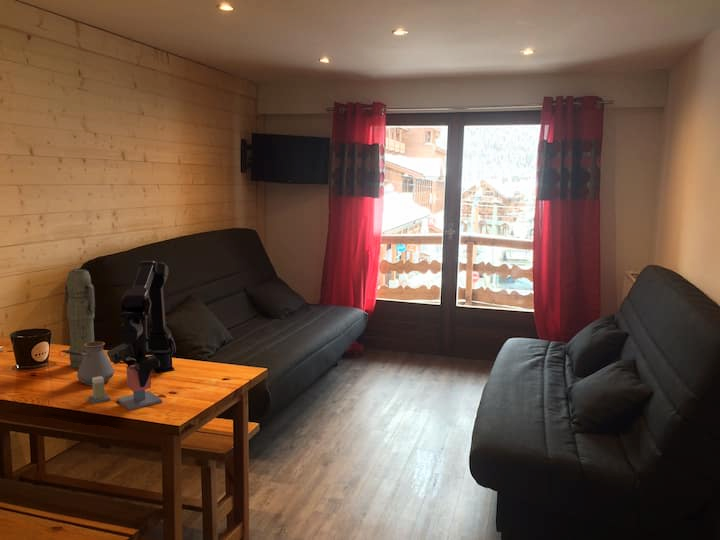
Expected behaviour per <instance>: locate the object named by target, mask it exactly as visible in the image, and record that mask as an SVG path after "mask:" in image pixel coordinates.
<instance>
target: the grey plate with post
mask: <svg viewBox="0 0 720 540" xmlns="http://www.w3.org/2000/svg"><path fill="white" fill-rule="evenodd" d="M116 401H117V402H118V403H119V404H120V405H122V406H123V407H124V408H126V409H127V410H128V411H133V410H137V409H140V408H145V407H149V406H153V405H158V404H161V403H163V399H161V398H160V397H158V396H157V395H156V394H154V393H153V392H151V391H150V390H146V389H144V390H140V391H135V392H133V391H132V394H129V395H125V396H121V397H116Z"/></svg>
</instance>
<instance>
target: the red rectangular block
mask: <svg viewBox="0 0 720 540" xmlns="http://www.w3.org/2000/svg"><path fill="white" fill-rule="evenodd" d="M133 367H135V365H130V366H128V365H127V366H126V387H127V388H128V389H129V390H131V391H132V393H133V392H135V391H140V390H144V389H145V390H147V389H151V388H152V385H151V384H152V383H151V375H150V376H149V378H148V380H147V382H146V384H145V386H144V387H141V386H140V382H139V377H138V372H137V371H136V370H135V369H134V368H133Z"/></svg>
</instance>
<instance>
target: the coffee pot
mask: <svg viewBox="0 0 720 540" xmlns="http://www.w3.org/2000/svg"><path fill="white" fill-rule="evenodd" d="M105 344H106V343H105V342H104V341H94V342H89V343H85V344H84V347H85V348H86V353H80V352H76V351H69V349H67V350H66V349H62V350H60V352H59V353H58V355H59V356H60V357H61V358H62V357H66V355H69V354H72V355H82V356H84V358H83V360H82V363H81V365H80V368H79V369H77V372H76V373H77V374H76V377H77V379H78V380H79V381H80V382H82V383H83V384H84V385H86V386H87V385H88V386H92V378H93V377H98V376H102V377H103V378H104V384H105V383H107V382H109V380H111V379H112V377H113V376H114V374H115V368H114V367H113V365H112V364H111V363H112V362H111V361H110V359H109V357H108V355H107V354H106V352H105V350H104V346H105ZM61 353H64V355H63V356H62V355H61Z"/></svg>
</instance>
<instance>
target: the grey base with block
mask: <svg viewBox="0 0 720 540" xmlns="http://www.w3.org/2000/svg"><path fill="white" fill-rule="evenodd" d="M91 386H92V395H91V396H87V400H88V401H89V402H90V403H91V404H92V405H95V404H99V403H104V402H109V401H111V397H110V396H109V395H107V394H106V393H105V383H104V378H103V377H102V376H98V377H93V378H92V385H91Z"/></svg>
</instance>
